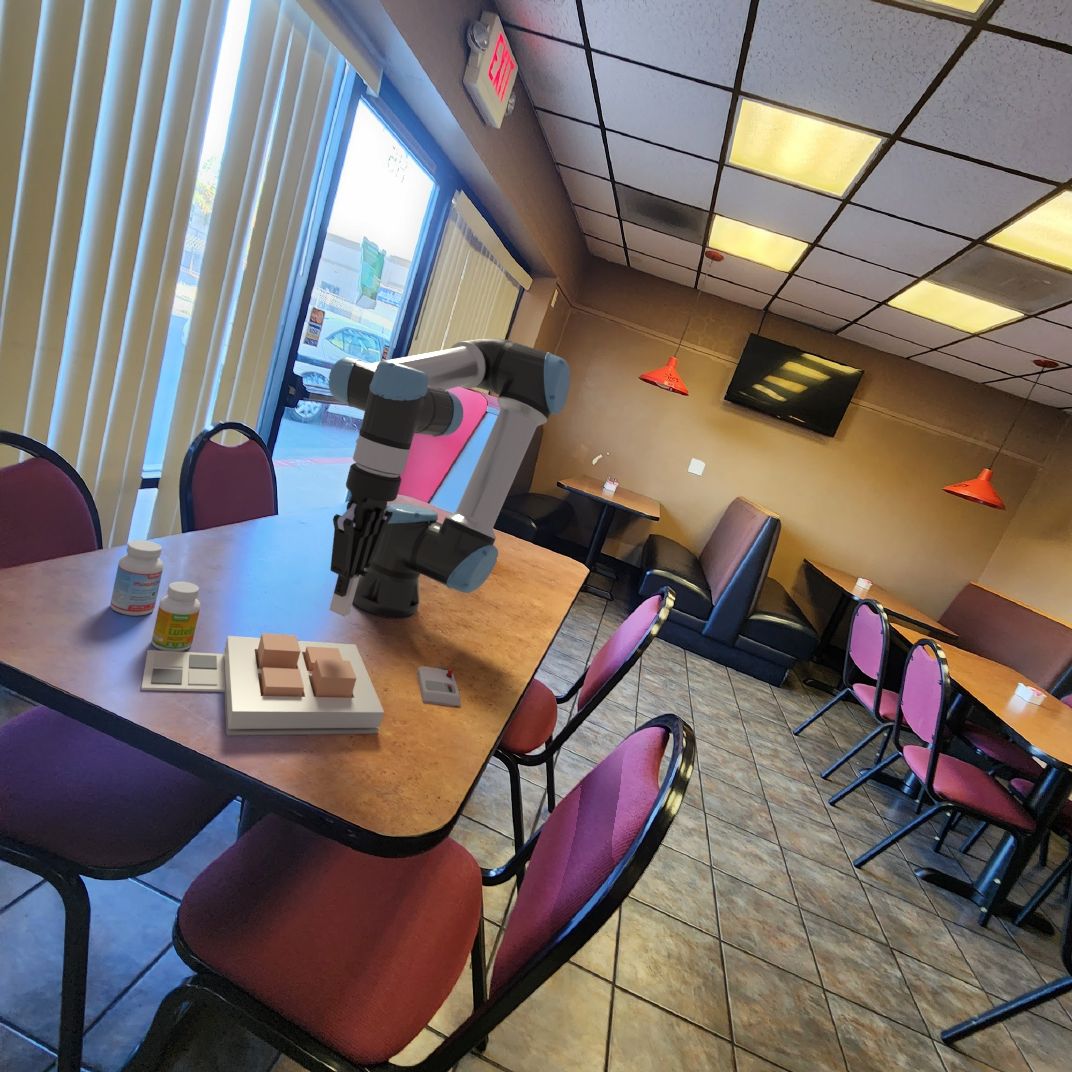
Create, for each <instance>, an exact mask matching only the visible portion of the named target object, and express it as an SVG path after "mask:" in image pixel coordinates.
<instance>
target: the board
mask: <svg viewBox="0 0 1072 1072" xmlns="http://www.w3.org/2000/svg"><path fill="white" fill-rule="evenodd" d="M260 638H261V637H250V636H249V637H248V636H236V635H227V638H226V641H225V645H224V650H223V651H224V652H223V653H222V654H223V656H224V677H225V692H224V707H225V708H224V709H225V729H226V730H225V731H226V732H225V733H226V734H225V735H226V736H281V735H282V736H291V735H295V736H296V735H348V734H349V735H354V734H355V735H359V734H362V735H363V734H366V735H367V734H368V735H369V734H378V733H379V728H380V727H381V724H382V721H383V718H384V714H385V711H384V709H383V706H382V704H381V702H380V699H379V697H378V695H377V692H376V690H375V688H374V687H375V686H374V685H373V683H372V680H371V678H370V675H369V673H368V671H367V668H366V666H365V663H364V661H363V659H362V657H361V654H360V652H359V649H358V647H357V644H353V643H337V642H322V641H321V642H320V641H309V640H298V644H299V648H300V655H299V659H298V662H297V666H296V669H300V673H301V677H302V681H303V685H304V690H303V693H302V697H289V696H261V693H260V686H259V681H260V677H261V673H262V669H259V664H258V657H257V650H258V646H259V642H260ZM307 646H309V647H324V648H338V649H339V651H340V654H341V657H342V660H344V661H350V663H351V665H352V668H353V670H354V673H355V676H356V678H357V679H356V682H355V686H354V689H353V692H352V696H351V698H340V697H315V693H314V689H313V686H312V682H311V676H312V673H313V671H307V669H306V665H305V661H304V655H305V651H306V647H307Z"/></svg>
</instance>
